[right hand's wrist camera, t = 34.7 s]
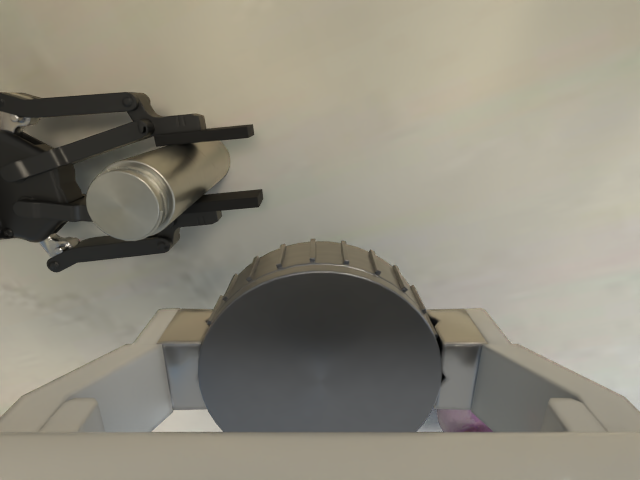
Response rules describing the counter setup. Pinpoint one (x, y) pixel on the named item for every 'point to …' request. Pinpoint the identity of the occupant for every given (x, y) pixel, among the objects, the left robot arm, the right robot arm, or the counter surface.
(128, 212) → the jar
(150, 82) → the counter surface
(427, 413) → the lid
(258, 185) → the counter surface
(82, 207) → the left robot arm
